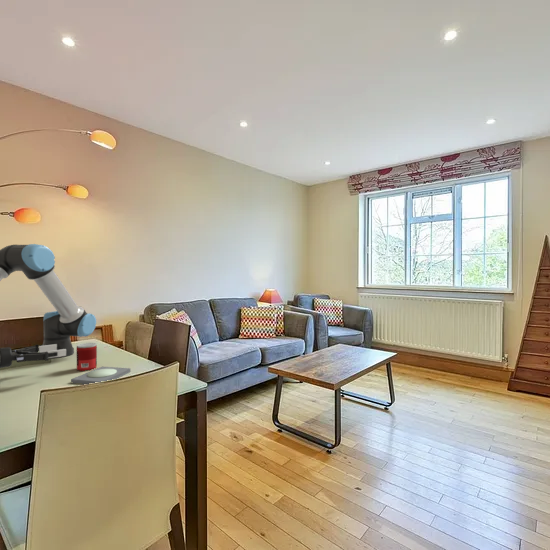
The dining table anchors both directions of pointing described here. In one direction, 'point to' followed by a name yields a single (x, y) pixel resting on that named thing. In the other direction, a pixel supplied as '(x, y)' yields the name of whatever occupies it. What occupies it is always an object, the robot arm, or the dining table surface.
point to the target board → (101, 375)
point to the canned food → (86, 356)
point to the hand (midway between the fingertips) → (61, 349)
